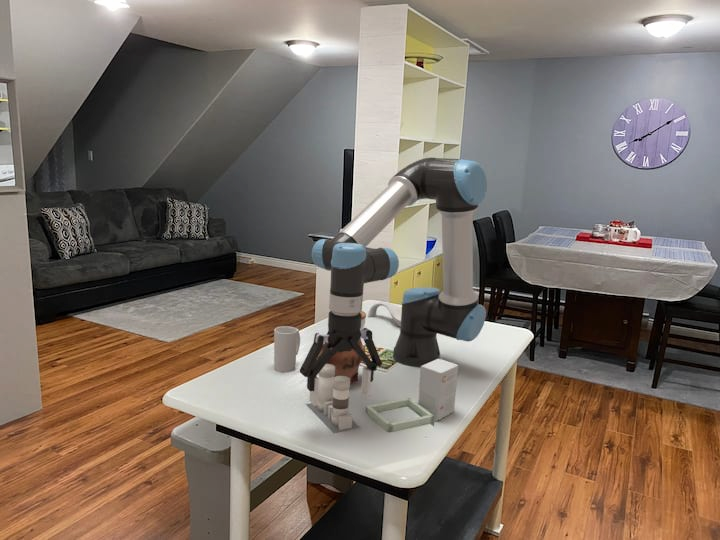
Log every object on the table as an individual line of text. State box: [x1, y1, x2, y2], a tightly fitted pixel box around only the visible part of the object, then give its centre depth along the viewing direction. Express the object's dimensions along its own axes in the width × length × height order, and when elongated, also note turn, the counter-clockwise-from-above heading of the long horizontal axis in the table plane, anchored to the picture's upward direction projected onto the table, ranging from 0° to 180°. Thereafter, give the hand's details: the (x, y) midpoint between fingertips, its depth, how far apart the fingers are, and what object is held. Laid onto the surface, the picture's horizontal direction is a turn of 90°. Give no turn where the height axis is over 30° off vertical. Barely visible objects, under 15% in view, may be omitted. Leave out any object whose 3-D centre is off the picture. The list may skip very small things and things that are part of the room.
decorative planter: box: [317, 337, 366, 384], centre depth 158 cm, size 20×12×14 cm, turn 152°
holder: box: [305, 364, 361, 434], centre depth 137 cm, size 7×16×12 cm, turn 29°
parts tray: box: [365, 397, 435, 433], centre depth 139 cm, size 13×11×3 cm
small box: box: [417, 358, 459, 422], centre depth 144 cm, size 8×6×13 cm
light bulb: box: [331, 376, 351, 426], centre depth 133 cm, size 4×4×11 cm
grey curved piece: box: [367, 301, 402, 328], centre depth 219 cm, size 24×12×7 cm, turn 52°
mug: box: [273, 325, 301, 373], centre depth 169 cm, size 10×7×12 cm, turn 147°
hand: (339, 398), depth 133 cm, fingers open, 13 cm apart
